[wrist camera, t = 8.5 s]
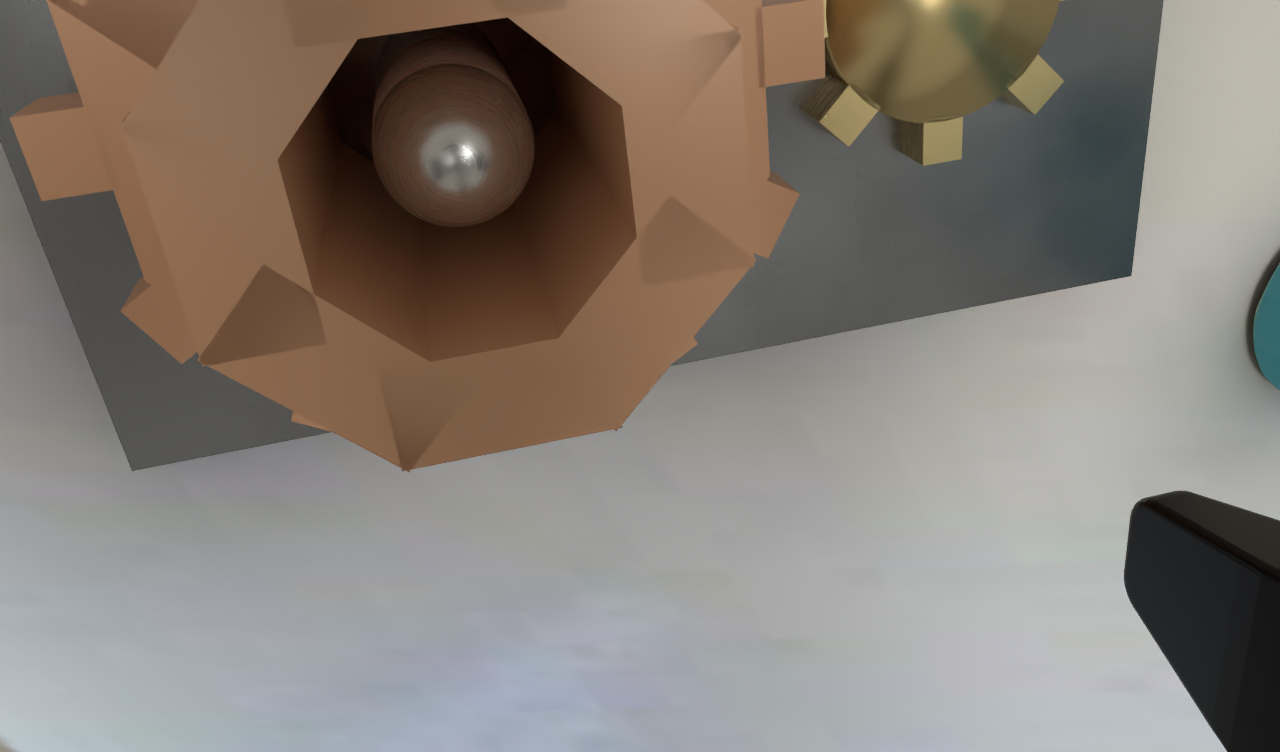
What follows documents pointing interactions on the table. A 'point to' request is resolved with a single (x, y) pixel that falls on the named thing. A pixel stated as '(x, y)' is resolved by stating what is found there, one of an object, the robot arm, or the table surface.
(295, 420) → the planet gear
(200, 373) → the carrier plate
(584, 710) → the table surface
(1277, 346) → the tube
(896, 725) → the table surface
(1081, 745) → the table surface
